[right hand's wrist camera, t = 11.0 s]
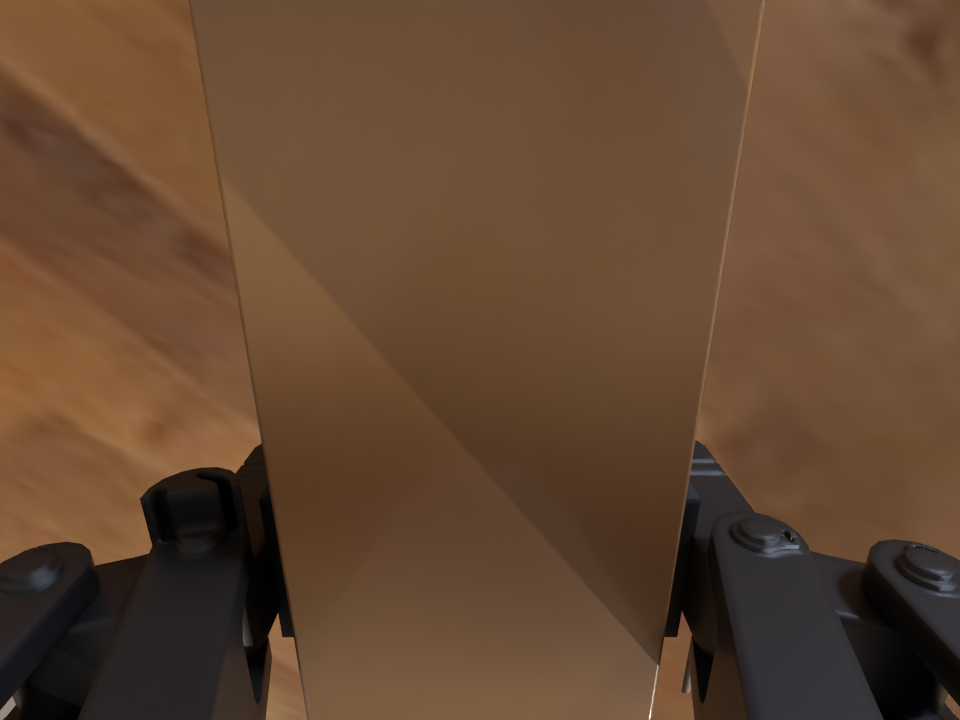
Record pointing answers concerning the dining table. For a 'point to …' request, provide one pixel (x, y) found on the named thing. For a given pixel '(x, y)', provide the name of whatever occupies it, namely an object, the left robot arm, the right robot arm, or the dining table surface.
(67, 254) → the dining table surface
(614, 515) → the post
